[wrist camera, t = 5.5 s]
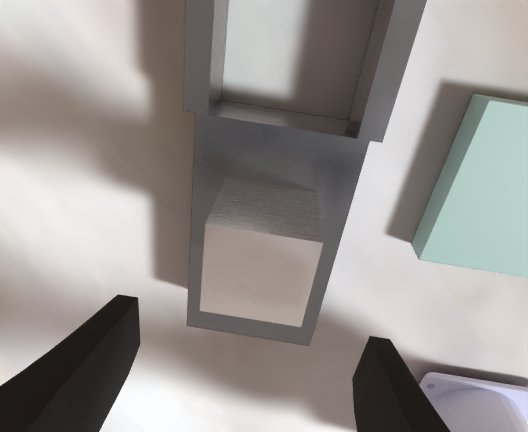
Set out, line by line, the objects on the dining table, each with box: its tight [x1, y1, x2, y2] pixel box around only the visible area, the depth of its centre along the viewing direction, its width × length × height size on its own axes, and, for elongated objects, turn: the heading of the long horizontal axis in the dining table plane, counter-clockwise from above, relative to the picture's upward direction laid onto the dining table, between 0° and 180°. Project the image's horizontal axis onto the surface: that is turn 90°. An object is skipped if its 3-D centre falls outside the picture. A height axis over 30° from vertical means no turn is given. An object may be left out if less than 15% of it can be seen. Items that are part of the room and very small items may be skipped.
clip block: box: [200, 177, 323, 327], centre depth 15 cm, size 4×4×4 cm
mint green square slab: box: [411, 93, 528, 278], centre depth 17 cm, size 8×8×2 cm
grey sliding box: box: [183, 0, 427, 346], centre depth 16 cm, size 20×8×3 cm, turn 172°
